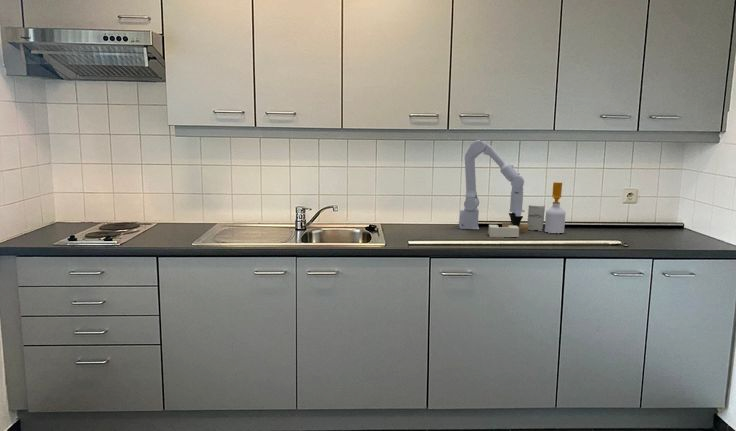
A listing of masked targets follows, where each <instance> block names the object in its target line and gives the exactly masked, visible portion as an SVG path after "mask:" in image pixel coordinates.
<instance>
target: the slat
mask: <svg viewBox="0 0 736 431" xmlns="http://www.w3.org/2000/svg"><path fill="white" fill-rule="evenodd" d="M508 225H512V226H513V223H511V222H502V223H501V227H506V228H508ZM521 232H528V233H529V230H528V224H527V223H520V225H519V233H521Z"/></svg>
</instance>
